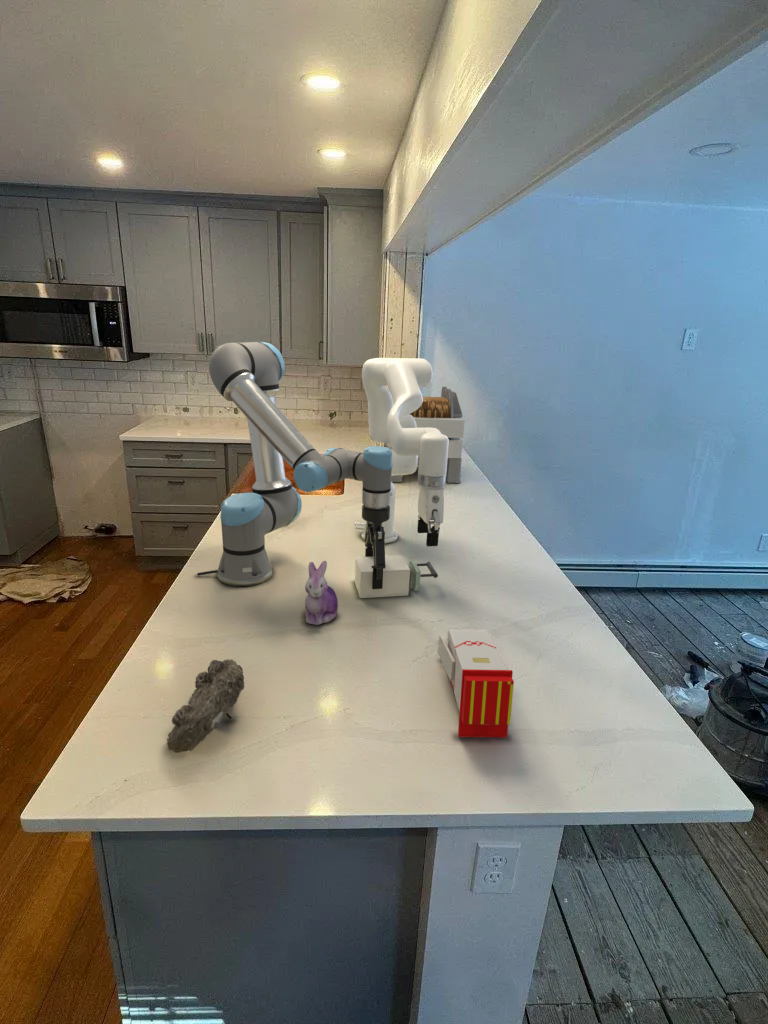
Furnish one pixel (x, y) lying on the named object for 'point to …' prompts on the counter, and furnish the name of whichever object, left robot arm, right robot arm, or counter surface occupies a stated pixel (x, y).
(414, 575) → the drawer
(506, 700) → the toy
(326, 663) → the counter surface
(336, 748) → the counter surface
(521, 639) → the counter surface
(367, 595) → the open cream box
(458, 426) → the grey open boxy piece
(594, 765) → the counter surface
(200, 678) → the fossil
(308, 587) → the figurine
